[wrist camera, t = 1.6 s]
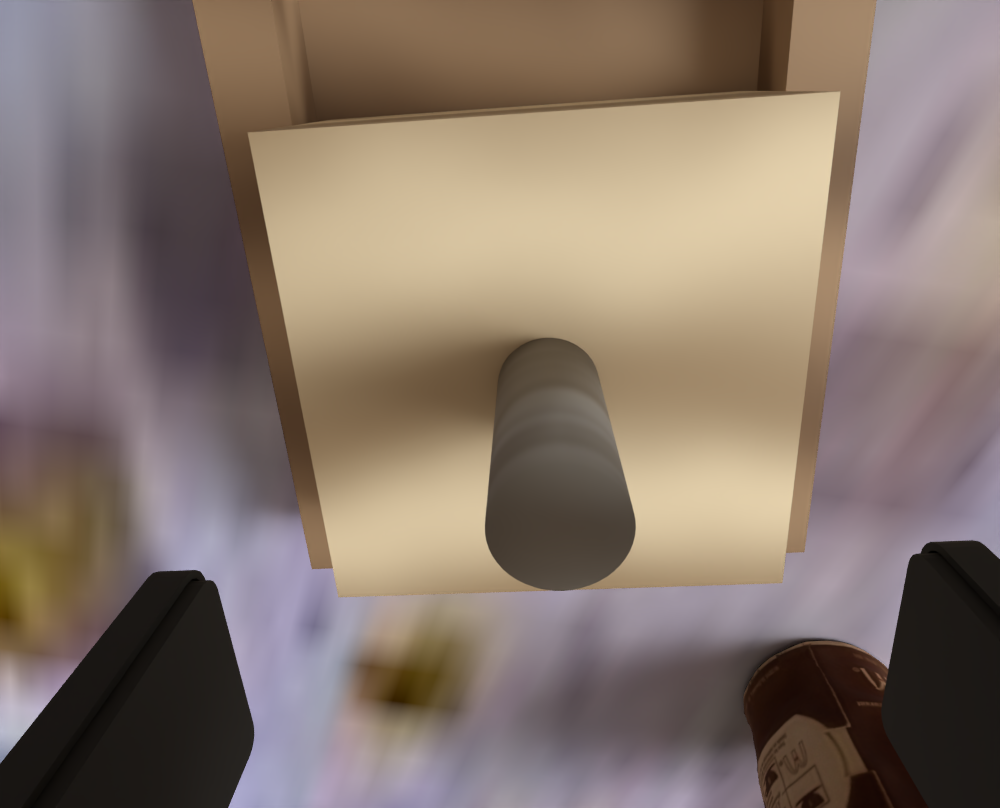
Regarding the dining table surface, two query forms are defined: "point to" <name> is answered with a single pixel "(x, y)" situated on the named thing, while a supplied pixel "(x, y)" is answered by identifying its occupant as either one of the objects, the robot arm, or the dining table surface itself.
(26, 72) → the dining table surface
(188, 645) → the robot arm
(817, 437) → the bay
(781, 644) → the dining table surface
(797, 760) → the coffee cup
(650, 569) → the square knob plate
